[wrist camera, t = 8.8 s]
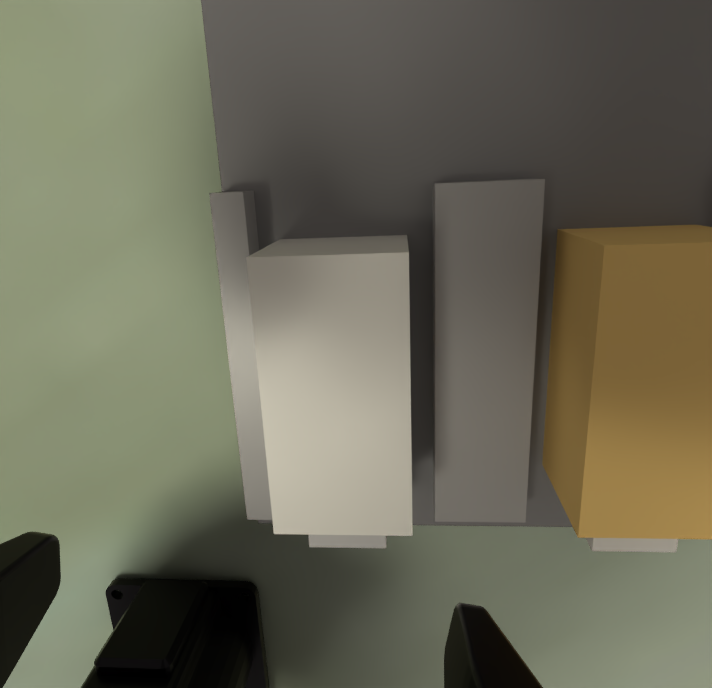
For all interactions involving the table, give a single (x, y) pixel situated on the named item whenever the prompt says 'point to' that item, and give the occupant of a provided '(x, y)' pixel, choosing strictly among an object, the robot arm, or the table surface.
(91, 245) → the table surface
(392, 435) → the grey plug
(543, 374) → the organiser
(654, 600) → the table surface
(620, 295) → the amber plug
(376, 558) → the table surface
